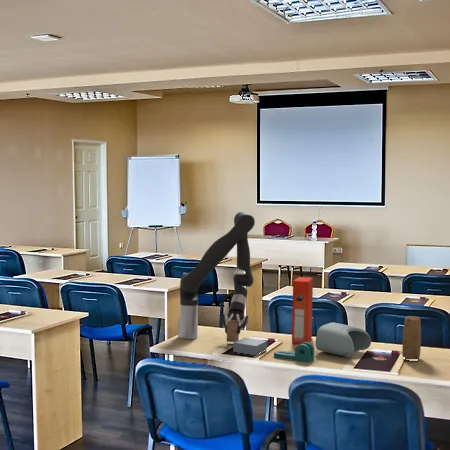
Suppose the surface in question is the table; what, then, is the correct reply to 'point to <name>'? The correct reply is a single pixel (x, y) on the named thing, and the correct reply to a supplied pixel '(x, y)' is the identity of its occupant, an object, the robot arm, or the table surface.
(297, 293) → the file binder
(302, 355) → the bracket
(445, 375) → the table surface
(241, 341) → the slate block
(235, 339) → the walnut block
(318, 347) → the grey hollow scoop
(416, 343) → the block
